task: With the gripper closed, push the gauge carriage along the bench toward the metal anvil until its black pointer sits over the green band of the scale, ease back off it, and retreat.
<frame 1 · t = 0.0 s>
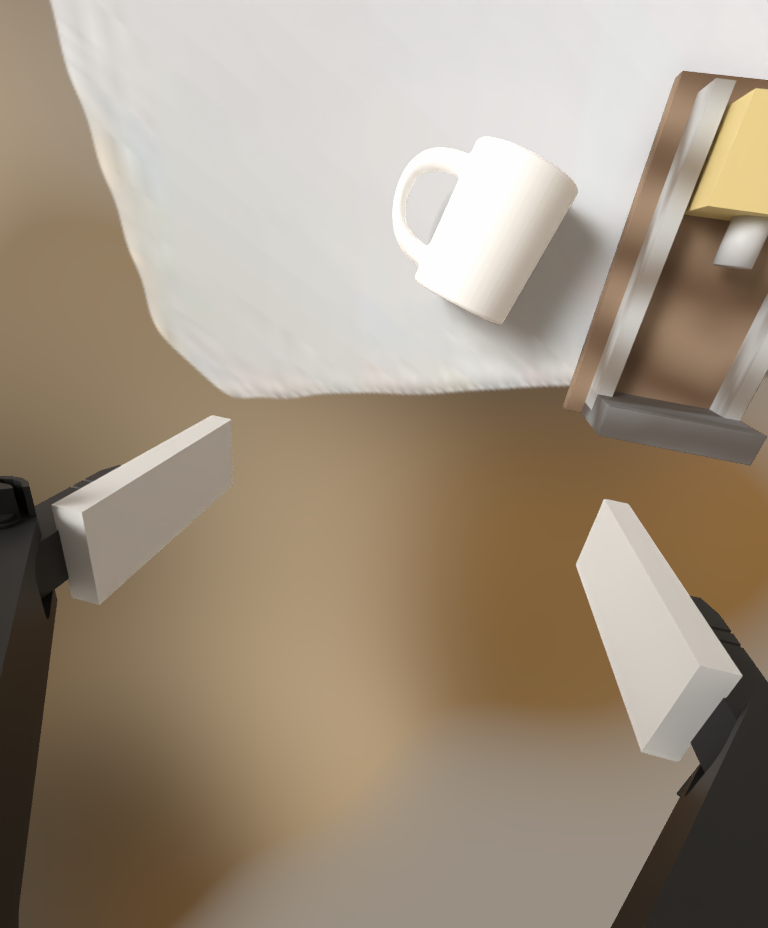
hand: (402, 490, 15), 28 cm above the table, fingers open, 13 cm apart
mug: (467, 230, 36), on the table
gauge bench: (700, 280, 34), on the table
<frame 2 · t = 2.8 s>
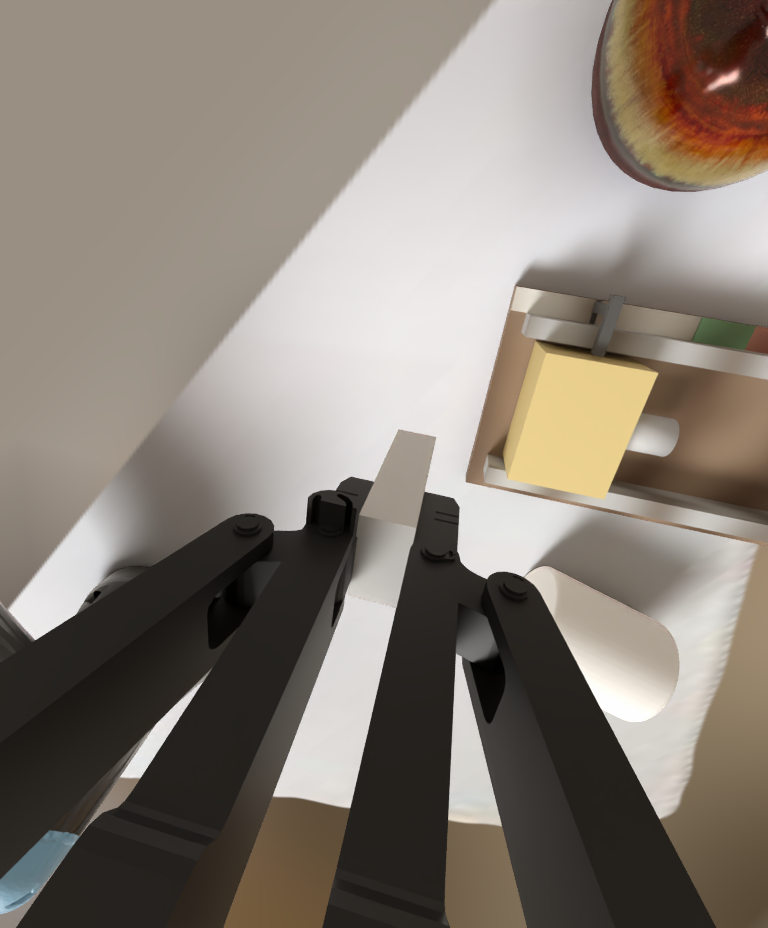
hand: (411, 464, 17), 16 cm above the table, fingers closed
mug: (557, 618, 38), on the table
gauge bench: (660, 422, 30), on the table
gauge carriage: (603, 397, 26), point 4 cm above the table, slide at 0.0 cm
vase: (684, 83, 23), on the table
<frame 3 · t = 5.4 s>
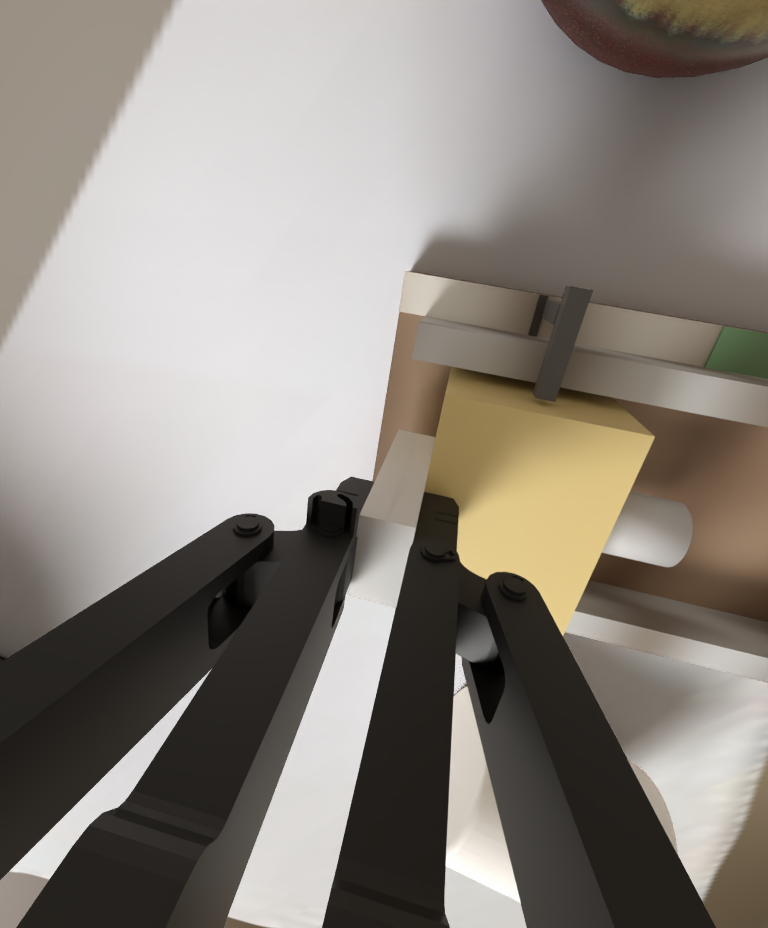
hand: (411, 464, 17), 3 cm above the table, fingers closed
mug: (507, 743, 27), on the table
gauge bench: (651, 491, 19), on the table
gauge carriage: (560, 465, 15), point 4 cm above the table, slide at 0.4 cm, touching gripper
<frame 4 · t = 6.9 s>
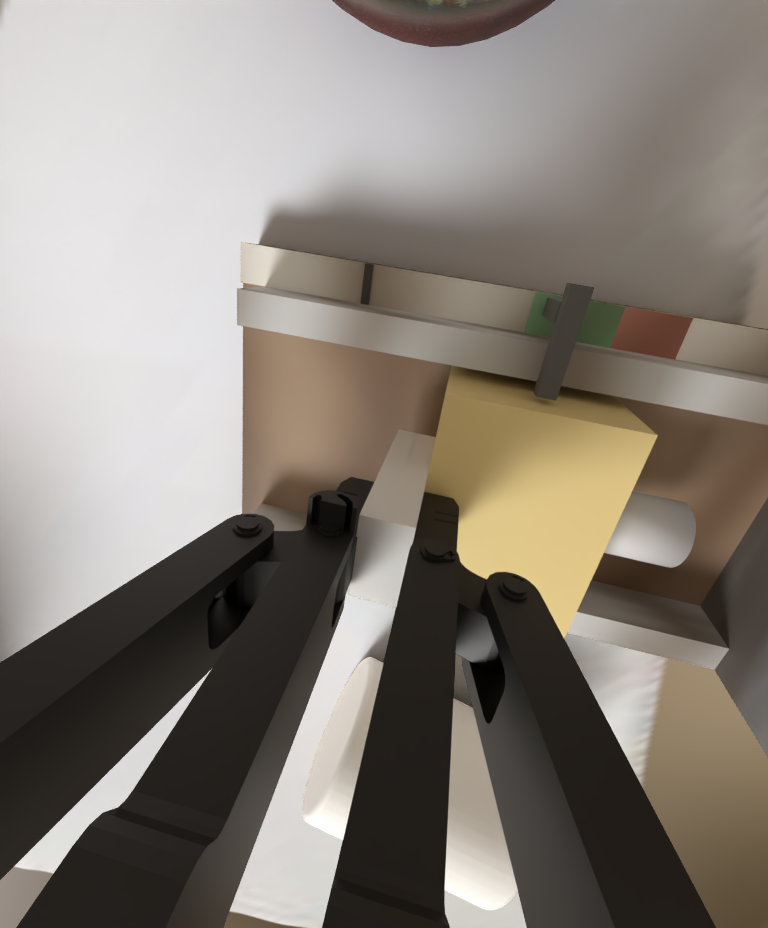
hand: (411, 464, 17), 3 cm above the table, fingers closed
mug: (412, 717, 28), on the table
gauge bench: (507, 460, 19), on the table
gauge carriage: (561, 465, 15), point 4 cm above the table, slide at 6.7 cm, touching gripper
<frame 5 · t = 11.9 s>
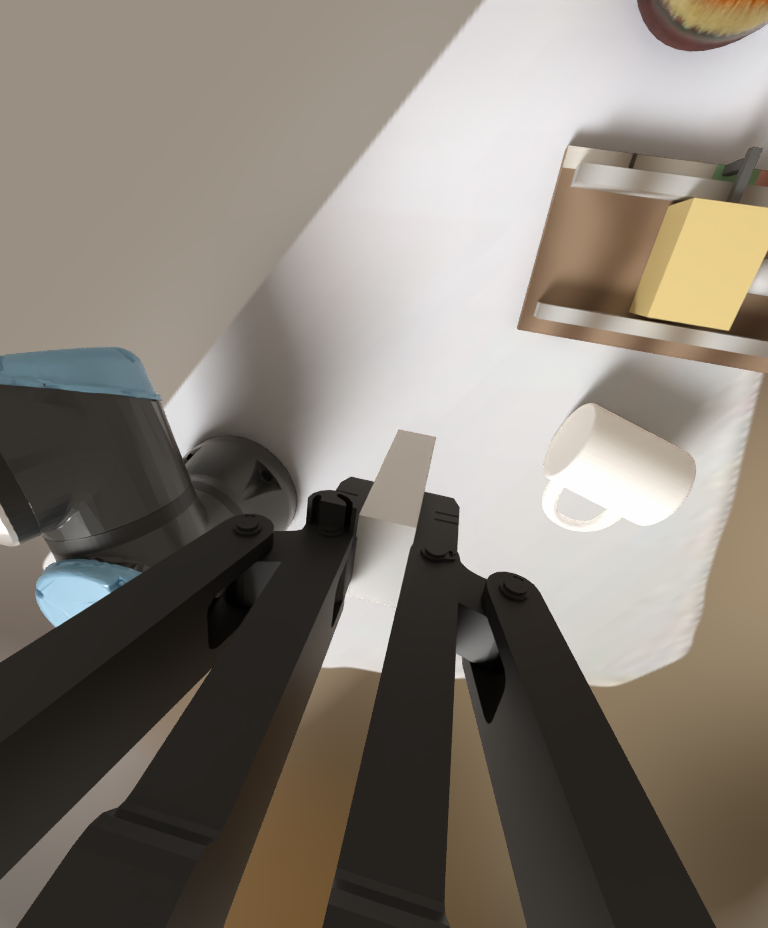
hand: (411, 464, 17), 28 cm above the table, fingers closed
mug: (589, 463, 45), on the table
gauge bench: (682, 268, 36), on the table
gauge carriage: (729, 246, 32), point 4 cm above the table, slide at 6.7 cm
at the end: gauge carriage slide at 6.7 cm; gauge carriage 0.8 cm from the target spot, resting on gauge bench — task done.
